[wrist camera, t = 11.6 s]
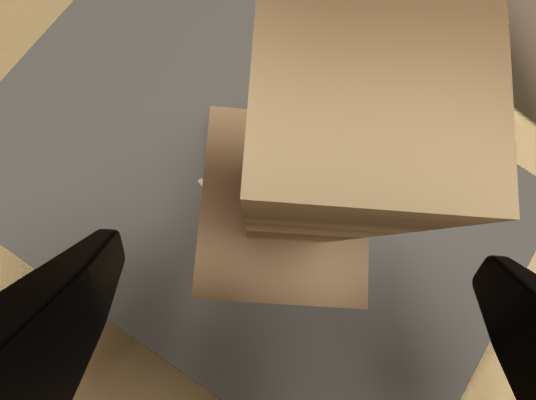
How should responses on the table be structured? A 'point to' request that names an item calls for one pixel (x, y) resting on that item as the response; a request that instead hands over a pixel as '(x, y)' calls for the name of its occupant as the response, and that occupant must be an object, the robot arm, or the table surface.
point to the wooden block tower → (354, 144)
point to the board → (188, 210)
